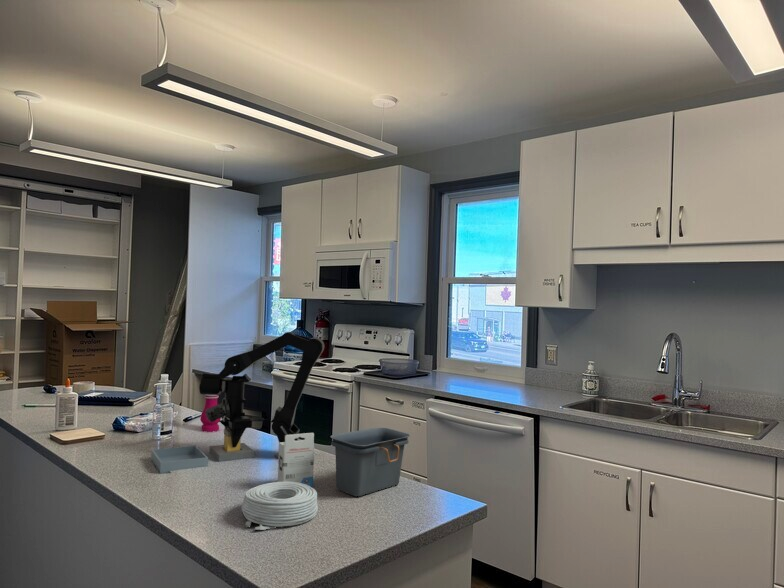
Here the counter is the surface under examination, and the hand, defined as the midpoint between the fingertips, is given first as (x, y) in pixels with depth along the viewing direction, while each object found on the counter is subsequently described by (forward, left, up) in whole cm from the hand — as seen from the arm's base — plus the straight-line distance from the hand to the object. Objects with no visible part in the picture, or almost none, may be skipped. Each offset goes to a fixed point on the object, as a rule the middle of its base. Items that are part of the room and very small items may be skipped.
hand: (232, 445), depth 176 cm
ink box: (-34, -7, -4) cm, 35 cm away
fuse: (0, 0, -3) cm, 3 cm away
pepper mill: (+37, -3, -4) cm, 37 cm away
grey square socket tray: (0, 0, -4) cm, 4 cm away
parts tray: (-1, +16, -4) cm, 16 cm away
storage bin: (-44, -25, -4) cm, 51 cm away
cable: (-50, +4, -4) cm, 51 cm away
